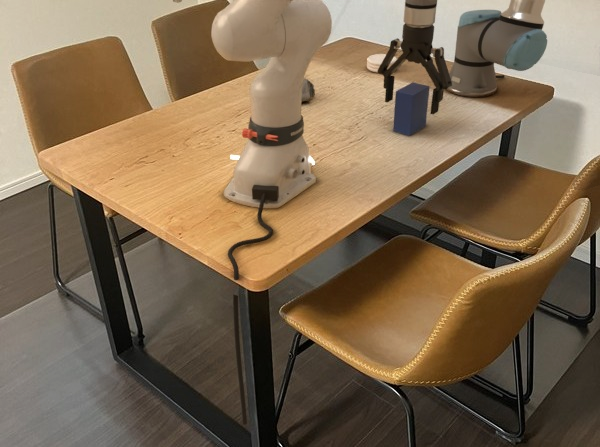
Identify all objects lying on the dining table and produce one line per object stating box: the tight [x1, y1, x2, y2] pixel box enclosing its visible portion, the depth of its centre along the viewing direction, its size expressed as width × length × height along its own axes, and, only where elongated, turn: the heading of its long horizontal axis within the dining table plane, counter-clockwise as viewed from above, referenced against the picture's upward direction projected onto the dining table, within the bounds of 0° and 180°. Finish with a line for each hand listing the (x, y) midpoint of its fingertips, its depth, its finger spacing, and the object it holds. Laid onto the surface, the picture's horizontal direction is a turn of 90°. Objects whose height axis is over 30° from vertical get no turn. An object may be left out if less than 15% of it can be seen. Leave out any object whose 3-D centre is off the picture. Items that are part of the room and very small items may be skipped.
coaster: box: [366, 53, 398, 74], centre depth 205 cm, size 10×10×4 cm
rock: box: [301, 77, 316, 102], centre depth 184 cm, size 15×10×7 cm
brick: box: [392, 81, 431, 137], centre depth 162 cm, size 5×8×11 cm, turn 141°
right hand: (411, 106), depth 162 cm, fingers open, 13 cm apart
